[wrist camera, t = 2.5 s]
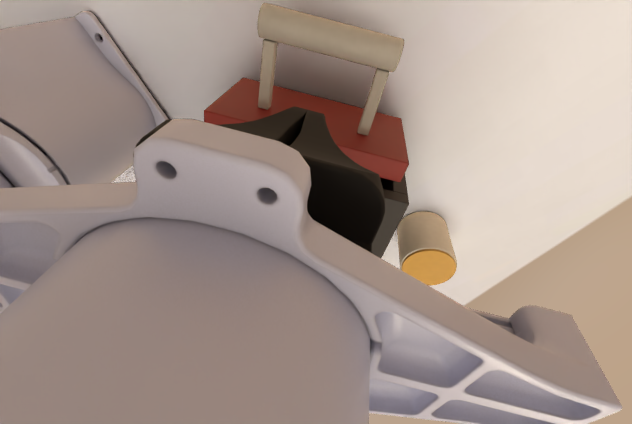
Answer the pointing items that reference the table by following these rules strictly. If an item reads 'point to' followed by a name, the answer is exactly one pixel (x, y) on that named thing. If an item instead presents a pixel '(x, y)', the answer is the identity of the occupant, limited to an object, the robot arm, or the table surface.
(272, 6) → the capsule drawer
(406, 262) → the beige cylinder
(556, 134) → the table surface
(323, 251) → the robot arm
